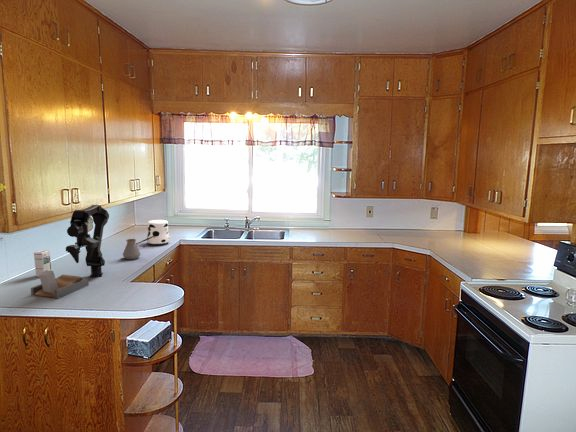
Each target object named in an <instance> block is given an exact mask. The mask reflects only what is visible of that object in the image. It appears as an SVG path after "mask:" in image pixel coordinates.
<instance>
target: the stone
mask: <svg viewBox="0 0 576 432" xmlns="http://www.w3.org/2000/svg"><path fill="white" fill-rule="evenodd" d="M38 278H39V279H40V280H39V281H40V283H41V284H42V287H43V290H44V292H49V293H52V292H53V291H55V290H56V289H58V286H57V282H56V276H55V273H54V271H53V270H51V271H48V270H46V271H44V272H42V273H41V274H39V277H38Z"/></svg>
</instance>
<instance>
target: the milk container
mask: <svg viewBox="0 0 576 432" xmlns="http://www.w3.org/2000/svg"><path fill="white" fill-rule="evenodd" d="M152 236H154V237H155V238H154V237H152ZM150 237H152V238H150ZM147 238H150V239H149V240H146V242H147V243H148V244H149V245H154V246H159V245H166V244H168V243H169V242H170V239H171V237H170V234H169V221H168V220H165V219H151V220H149V221H147V236H146V239H147Z"/></svg>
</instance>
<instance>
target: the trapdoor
mask: <svg viewBox="0 0 576 432" xmlns="http://www.w3.org/2000/svg"><path fill="white" fill-rule="evenodd" d="M81 277H82V276H79V275H68V274H61V275H60V276H59V277H56V278H57V279H56V278H55V279H56V282H57V286H58V289H60V288H63V287H65V286H68V285H70V284H72V283H75V282H77V281H80V280H81ZM58 289H56V290H58ZM35 296H40V297H45V298H46V297H48V298H54V299H55V293H54V291H53V292H52V293H49V292H44V290H43V288H42V289H40V290H39V291H37V292H36V293H35Z"/></svg>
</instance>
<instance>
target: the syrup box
mask: <svg viewBox="0 0 576 432" xmlns="http://www.w3.org/2000/svg"><path fill="white" fill-rule="evenodd" d="M33 258H34V259H33V260H34V261H33V262H34V268H35V270H34V271H35V277H38V278H40V277H39V274H41V273H42V272H44V271H46V270H48V271H52V263H51V252H50V250H44V249H43V250H39V251H36V252H33Z"/></svg>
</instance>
